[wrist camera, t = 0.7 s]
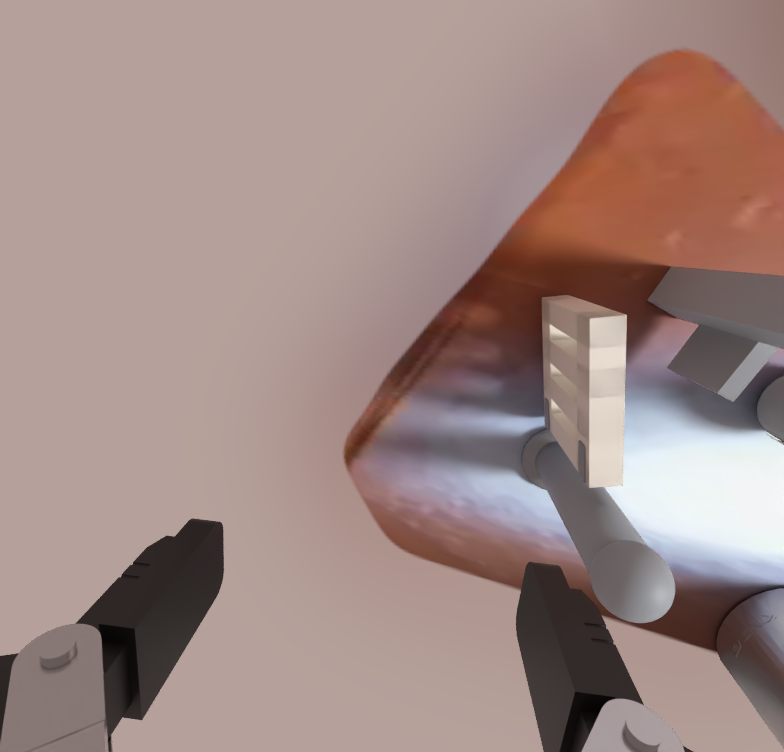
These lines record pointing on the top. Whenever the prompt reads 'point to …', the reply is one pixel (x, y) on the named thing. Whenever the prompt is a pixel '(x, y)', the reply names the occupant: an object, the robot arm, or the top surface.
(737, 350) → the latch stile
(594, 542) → the hinge post
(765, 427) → the reed diffuser
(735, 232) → the top surface
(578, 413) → the gate
